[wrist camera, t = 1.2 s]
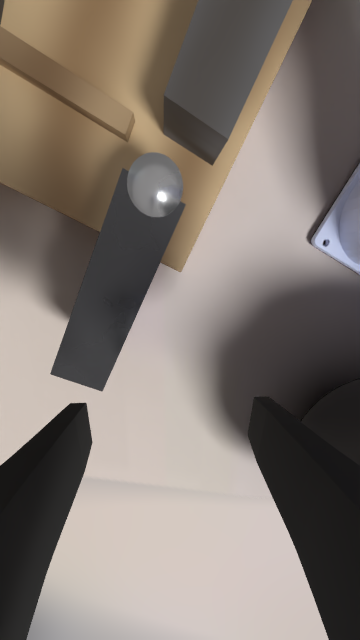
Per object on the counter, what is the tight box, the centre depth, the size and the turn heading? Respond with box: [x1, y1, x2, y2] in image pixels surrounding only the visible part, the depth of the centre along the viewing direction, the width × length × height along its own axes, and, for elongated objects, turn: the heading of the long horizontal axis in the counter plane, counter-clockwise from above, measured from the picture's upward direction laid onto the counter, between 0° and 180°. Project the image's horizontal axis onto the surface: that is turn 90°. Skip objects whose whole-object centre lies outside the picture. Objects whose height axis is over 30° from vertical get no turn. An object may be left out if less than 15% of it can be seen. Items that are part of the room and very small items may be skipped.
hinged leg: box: [50, 152, 186, 391], centre depth 12 cm, size 12×3×3 cm, turn 154°
